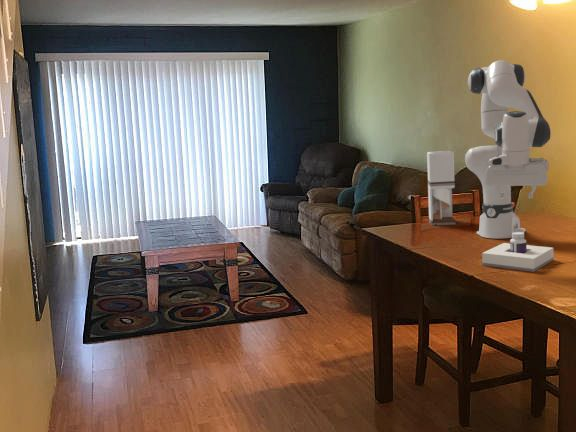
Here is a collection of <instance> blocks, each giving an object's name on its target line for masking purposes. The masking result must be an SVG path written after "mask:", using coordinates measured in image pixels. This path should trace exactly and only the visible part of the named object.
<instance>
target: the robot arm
mask: <svg viewBox="0 0 576 432" xmlns="http://www.w3.org/2000/svg"><path fill="white" fill-rule="evenodd" d="M467 77H468V78H467V86H468V89H469V90H470V92H471V93H472V94H476V95H480V94H481V101H480V121H481V122H480V125H481V131H482V133H483V134H484V135H486V136H487V137H489V138H491V139H493V140H494V143H495V144H494V145H479V146H476V147H472V148H469V149H468V150H467V151H466V153H465V156H464V163H465V166H466V168H467V169H468V170H469V171H471V172H472V173H473V174H474V175H476V177H477V178H478V179H479V181H480V183H481V186H482V194H483V195H482V196H483V197H482V198H483V203H482V206H481V208H482V214H481V215H480V216H479V225H478V226H479V229H478V230H477V231H476V235H479V236H480V237H481V238H487V239H496V240H497V239H513V237H512V233H514V232H523V233H524V234H525V232H526V231H527V230H526V228H523V227H521V221H520V218H519V217H518V216H517V214H516V213H515V212H514V208H515V206H516V204H515V202H512V197H511V196H512V195H511V194H512V192H511V191H512V188H511V187H519V186H520V187H521V186H522V187H523V186H526V187H528V186H529V187H531V189H532V191H530V192H528V193H527V198H528V199H534V194H535V191H536V190H537V186H546V185H547V184H548V173H547V171H548V169H549V167H550V166H549V165H550V163H549V161H548V160H547V159H545V158H543V157H541V158H540V157H538V158H534V157H533V158H531V157H530V156H531V155H530V148H542V147H544V146H545V145H546V144H547V143H548V142H549V141H550V139H551V135H552V134H551V133H552V132H551V127H550V124H549V123H548V121H547V120H546V118H545V117H544V116H543V114H542V112H541V110H540V108H539V106H538V104H537V102H536V100H535V98H534V97H533V94H532V93H531V92H530V91H529V90H528V89H526V88H524V87H523V86H524V83H525V81H526V73H525V70H524V67H523V66H522V64H518V63H516V64H515V63H512V64H511V63H510V62H508V61H507V60H503V59H501V60H500V59H499V60H496V61H494V62H492V63H491V64H490V65H488V66H485V67H476V68H473V69H472V70H471V71H469V75H468V76H467ZM509 108H510V109H511V108H512V109H516V110H514V111H509Z"/></svg>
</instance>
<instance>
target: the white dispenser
mask: <svg viewBox="0 0 576 432" xmlns="http://www.w3.org/2000/svg"><path fill="white" fill-rule="evenodd" d="M426 164H427V166H426V167H427V196H428V197H427V198H428V199H427V201H428V222H429V224H430V223H431V224H430V225H431V226H447V225H448V226H449V225H456V222H457V221H456V219H455V218H454V217H453V189H455V188H456V187H455V186H456V185H455V184H456V183H455V152H453V151H451V150H443V151H442V150H441V151H428V152H426ZM435 224H437V225H435Z"/></svg>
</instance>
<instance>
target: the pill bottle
mask: <svg viewBox="0 0 576 432" xmlns="http://www.w3.org/2000/svg"><path fill="white" fill-rule="evenodd" d="M512 237H513V238H510V240H509V243H510V252H514V253H523V254H524V253H526V252H527V251H526V245H527V240H526V239H525V232H524V233H523V232H514V233H512Z"/></svg>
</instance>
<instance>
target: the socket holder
mask: <svg viewBox="0 0 576 432" xmlns="http://www.w3.org/2000/svg"><path fill="white" fill-rule="evenodd" d="M526 251H527V252H526V253H524V254H523V253H514V252H510V242H508V243H507V242H503V243H501V244H498V245H497V246H494V247H492V248H490V249H488V250H485V251H484V252H482V253H481V264H482V265H481V266H484V267H492V268H493V267H494V268H498V269H499V268H502V269H509V270H514V271H515V270H517V271H524V272H532V273H534V272H536V271H537V270H540V269H541V268H543V267H545V266H546V265H548V264H549V263H551V262H552V261H554V247H549V246H542V245H541V246H537V245H532V244H531V245H530V244H526Z"/></svg>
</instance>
